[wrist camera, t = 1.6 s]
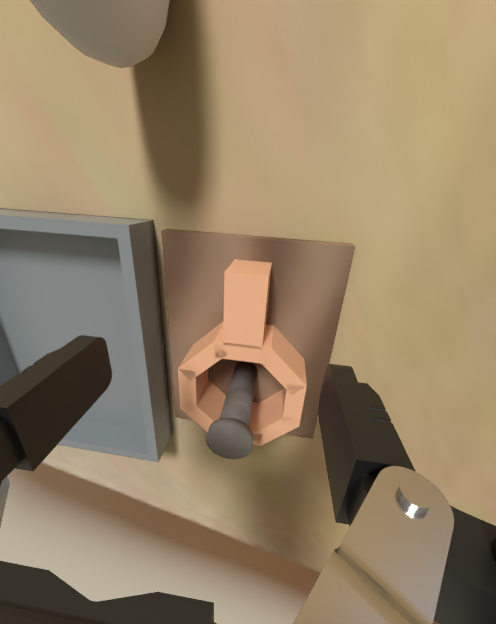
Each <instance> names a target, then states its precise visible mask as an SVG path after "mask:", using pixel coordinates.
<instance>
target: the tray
mask: <svg viewBox="0 0 496 624" xmlns="http://www.w3.org/2000/svg"><path fill="white" fill-rule="evenodd" d="M80 335H85V336H94V337H102V338H104V339H105V341H106V343H107V348H108V353H109V359H110V364H111V369H112V379H111V383H110V385H109V387H108V388H107V390H106V391H105V392H104V393H103V394H102V395H101V396H100V398H99V399H98V400H97V401H96V402H95V403H94V404H93V405H92V406H91V408H90V409H89V410H88V411H87V412H86V413H85V414H84V415H83V416H82V418H81V419H80V420H79V421H78V422H77V423H76V424H75V425H74V426H73V428H72V429H71V430H70V431H69V432H68V433H67V434H66V435H65V436H64V438H63V439H62V440H61V441H60V442H59V443H58V444H57V445H62V446H68V447H73V448H79V449H85V450H91V451H96V452H102V453H108V454H114V455H119V456H125V457H131V458H137V459H142V460H148V461H154V462H159V460H160V458H161V456H162V454H163V452H164V449H165V447H166V445H167V443H168V441H169V439H170V437H171V435H172V430H171V419H170V408H169V396H168V385H167V374H166V362H165V351H164V340H163V328H162V317H161V306H160V294H159V283H158V271H157V260H156V249H155V237H154V226H153V220H145V219H132V218H119V217H106V216H93V215H80V214H67V213H54V212H41V211H28V210H15V209H2V208H0V386H1V385H2V384H4V383H5V382H6V381H8V380H9V379H11V378H12V377H14V376H15V375H17V374H21V371H23V370H24V369H26V368H27V367H29V366H30V365H31V366H32V365H33V363H34V362H36V361H37V360H39V359H40V358H42V357H43V356H45V355H46V354H48V353H51V352H53V351H55V350H58V349H60V348H62V347H63V346H65V345H66V344H67V343H69V342H70V341H72V340H73V339H75V338H76V337H78V336H80Z"/></svg>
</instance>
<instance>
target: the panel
mask: <svg viewBox="0 0 496 624" xmlns="http://www.w3.org/2000/svg"><path fill="white" fill-rule="evenodd" d="M161 232H162V245H163V258H164V271H165V284H166V297H167V310H168V323H169V336H170V349H171V362H172V375H173V388H174V401H175V414H176V417H178V418H185V419H191V418H190V417H189V416H188V415H187V414H186V413H185V412H184V411H182V410H181V409H180V395H179V379H178V368H179V366H180V364H181V363H182V361H183V360H184V358H185V356H186V355H187V353H188V352H189V350H190V348H191V347H192V345H193V344H195V343H196V342H197V341H199V340H200V339H201V338H202V337H204V336H205V335H206V334H207V333H209V332H210V331H211V330H213V329H214V328H215V327H216V326H218V325H219V324H220V323H222V322H223V321H224V272H225V271H226V270H227V268H228V267H229V266H230V265H231V263H232V262H233V261H234V260H235V259H236V260H247V261H259V262H270V263H272V268H271V278H270V289H269V299H268V310H267V320H266V325H274V326H275V327H276V328H277V329H278V331H279V332H280V333H281V334H282V335H283V336H284V337H285V338H286V339H287V341H288V342H289V343H290V344H291V345H292V346H293V347H294V348H295V349H296V351H297V352H298V353H299V354H300V355H301V356H302V357H303V358H304V361H305V372H306V382H307V388H306V393H305V398H304V404H303V409H302V414H301V420H300V425H299V427H297V428H295V429H293V430H291V431H289V432H287V433H285V434H288V435H295V436H301V437H308V438H313V434H314V429H315V425H316V420H317V416H318V406H319V398H320V393H321V389H322V384H323V379H324V375H325V370H326V367H327V365H328V364H329V362H330V357H331V353H332V348H333V344H334V339H335V335H336V330H337V326H338V321H339V317H340V312H341V308H342V303H343V299H344V295H345V290H346V286H347V281H348V277H349V272H350V268H351V263H352V259H353V254H354V250H355V246H354V245H352V244H349V243H336V242H324V241H311V240H299V239H286V238H274V237H261V236H249V235H236V234H224V233H211V232H199V231H186V230H174V229H166V230H163V231H161ZM208 379H209V380H210V381H211V382H212V383H213V384H214V385H215V386H216V387H217V388H218V389H220V390H221V391H222V392H223V393H224V394H225V395H226V398H225V401H224V405H223V408H222V411H221V415H220V418H219V419H218V420H216V421H214V422H213V423H212V424H211V425H210V427H209V429H208V432H207V436H206V442H207V445H208V447H209V448H210V449H211V450H212V451H213V452H214V453H215V454H217V455H219V456H221V457H224V458H228V459H239V458H243V457H245V456H247V455H248V454H249V453H250V452H251V450H252V445H253V433H252V431H251V429H250V428H249V427H248V425H249V420H250V414H251V408H252V402H256V403H260V402H262V401H263V400H265V399H267V398H268V397H270V396H272V395H274V394H275V393H277V392H279V391H281V390H282V389H283V385H282V384H281V383H280V382H279V381H278V380H277V379H276V378H275V377H274V376H273V375H272V374H271V373H270V372H269V371H268V370H267V369H266V368H265V367H264V366H263V365H262V364H261V363H253V362H245V361H238V360H230V359H221V360H219V361H218V362H216V363H215V364H214V365H212V366H211V367H209V368H208ZM191 420H193V419H191Z"/></svg>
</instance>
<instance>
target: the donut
mask: <svg viewBox="0 0 496 624" xmlns="http://www.w3.org/2000/svg"><path fill="white" fill-rule="evenodd" d="M30 1H31V2H32V4H33V5H34V6H35V8H36V9H37V10H38V12H39V13H40V14H41V16H42V17H43V18H44V19H45V20H46V21H47V22H48V23H49V24H50V25H52V26H53V27H54V28H55V29H56V30H57V31H58V32H59V33H60V34H61V35H62V36H63V37H64V38H65V39H66V40H67V41H68V42H69V43H70V44H72V45H73V46H74V47H75V48H76V49H78V50H79V51H80V52H82V53H83V54H85V55H86V56H88V57H91V58H93V59H96V60H98V61H101V62H103V63H106V64H108V65H111V66H115V67H118V68H124V67H130V66H133V65H135V64H137V63H139V62H141V61H143V60H145V59H146V58H148V57H149V56H150V55H152V54H153V52H154V50H155V48H156V46H157V44H158V42H159V40H160V38H161V36H162V33H163V31H164V29H165V27H166V21H167V14H168V8H169V1H170V0H30Z"/></svg>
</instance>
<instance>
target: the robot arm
mask: <svg viewBox="0 0 496 624" xmlns="http://www.w3.org/2000/svg"><path fill="white" fill-rule="evenodd" d="M111 379H112V369H111V364H110V359H109V353H108V348H107V343H106V341H105V339H104V338H102V337H94V336H85V335H80V336H78V337H76V338H75V339H73V340H72V341H70V342H69V343H67V344H66V345H65V346H63V347H62V348H60V349H58V350H55V351H53V352H51V353H48V354H46V355H45V356H43V357H42V358H40V359H39V360H37V361H36V362H34V363H33V365H32V366H31V365H30V366H29V367H27V368H26V369H24V370H23V371H21V374H17V375H15V376H14V377H12V378H11V379H9V380H8V381H6V382H5V383H4V384H2V385H1V386H0V526H1V522H2V517H3V512H4V508H5V503H6V498H7V493H8V489H9V479H8V477H7V475H8V474H9V473H10V472H11V471H12V470H13V469H14V468H16V469H23V470H29V471H34V470H35V469H36V468H37V466H38V465H39V464H40V463H41V462H42V461H43V460H44V459H45V458H46V457H47V455H48V454H49V453H50V452H51V451H52V450H53V449H54V448H55V447H56V445H57V444H58V443H59V442H60V441H61V440H62V439H63V438H64V436H65V435H66V434H67V433H68V432H69V431H70V430H71V429H72V428H73V426H74V425H75V424H76V423H77V422H78V421H79V420H80V419H81V418H82V416H83V415H84V414H85V413H86V412H87V411H88V410H89V409H90V408H91V406H92V405H93V404H94V403H95V402H96V401H97V400H98V399H99V398H100V396H101V395H102V394H103V393H104V392H105V391H106V390H107V388H108V387H109V385H110V383H111ZM318 415H319V422H320V428H321V435H322V441H323V447H324V453H325V459H326V465H327V472H328V478H329V484H330V490H331V496H332V503H333V509H334V515H335V521H336V522H338V523H344V524H349V526H350V528H349V529H348V531H347V533H346V535H345V537H344V539H343V540H342V542H341V544H340V546H339V547H338V549H335V550H334V552H333V553H332V555H331V556H330V558H329V560H328V561H327V563H326V565H325V567H324V568H323V570H322V572H321V574H320V576H319V578H318V579H317V581H316V583H315V585H314V587H313V589H312V590H311V592H310V594H309V596H308V597H307V599H306V601H305V603H304V605H303V606H302V608H301V610H300V612H299V614H298V616H297V617H296V619H295V621H294V623H293V624H433V620H434V621H436V622H438V623H439V624H496V526H494V525H492V524H489V523H487V522H485V521H483V520H480V519H478V518H476V517H473V516H471V515H469V514H466V513H464V512H462V511H460V510H458V509H456V508H454V507H452V506H450V505H449V503H448V501H447V500H446V498H445V497H444V495H443V494H442V493H441V491H440V490H439V489H438V488H437V487H436V486H435V485H434V484H433V483H432V482H430V481H429V480H428V479H427V478H425V477H424V476H422V475H421V474H419V473H417V472H416V471H415V469H414V467H413V465H412V463H411V461H410V459H409V457H408V455H407V453H406V451H405V449H404V446H403V444H402V442H401V440H400V438H399V436H398V434H397V432H396V430H395V428H394V426H393V424H392V423H391V419H390V417H389V415H388V413H387V411H385V407H384V405H383V403H382V401H381V398H380V396H379V395H378V394H377V393H376V392H375V391H374V390H373V389H372V388H371V387H370V386H369V385H368V384H366V383H358V381H357V379H356V376H355V374H354V371H353V369H352V367H351V366H342V365H334V364H328V365H327V367H326V370H325V375H324V379H323V384H322V389H321V393H320V398H319V406H318ZM0 624H216V623H215V622H214V603H212V602H207V601H202V600H197V599H192V598H186V597H181V596H176V595H171V594H166V593H161V592H155V593H148V594H143V595H137V596H130V597H124V598H118V599H112V600H106V601H99V602H94V601H90V600H89V599H87V598H86V597H84V596H83V595H82V594H80V593H79V592H77V591H76V590H75V589H73V588H72V587H71V586H69V585H68V584H67V583H65V582H64V581H63V580H61V579H60V578H59V577H57V576H56V575H54V574H53V573H52V572H50V571H49V570H44V569H39V568H33V567H28V566H23V565H18V564H13V563H8V562H3V561H0Z"/></svg>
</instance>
